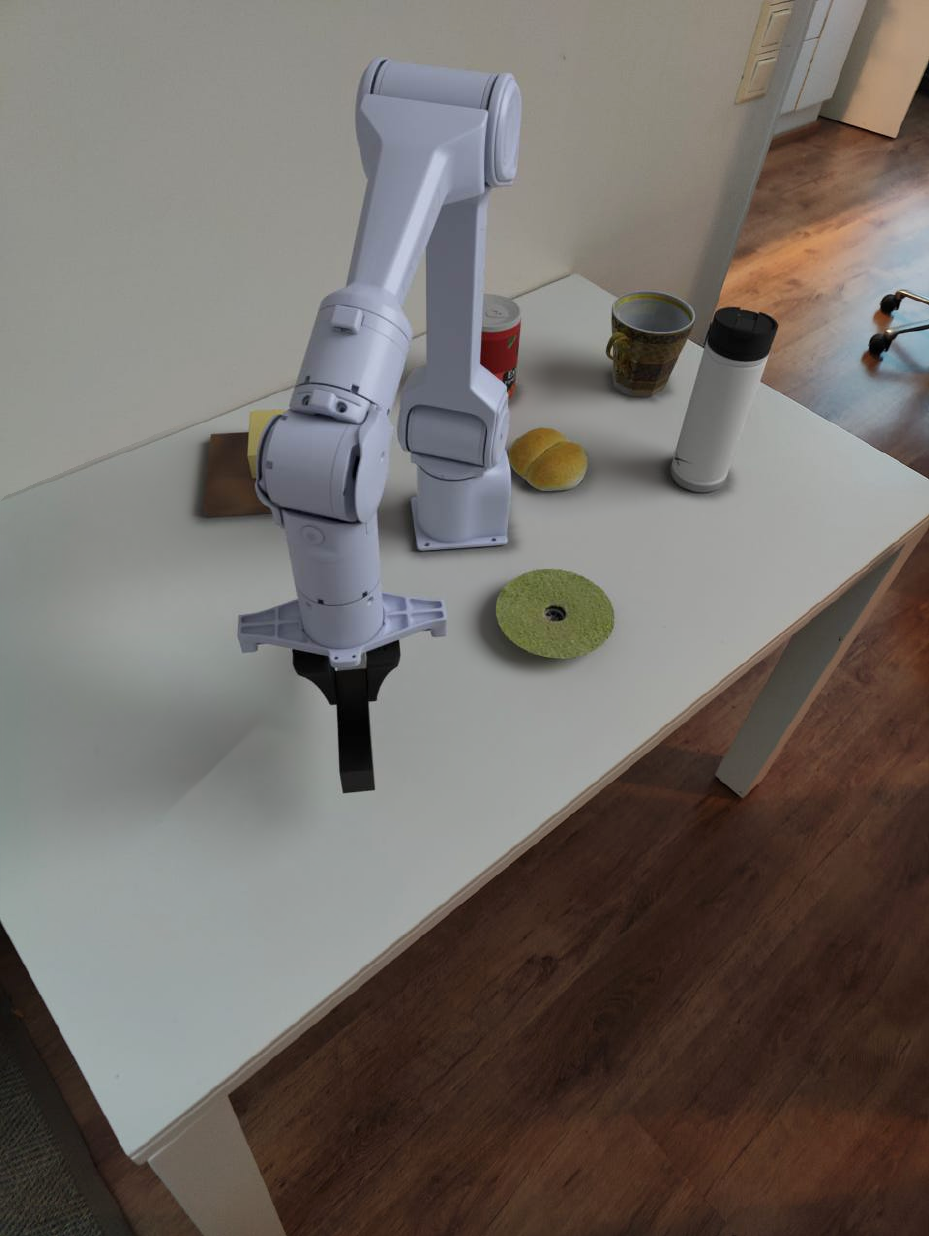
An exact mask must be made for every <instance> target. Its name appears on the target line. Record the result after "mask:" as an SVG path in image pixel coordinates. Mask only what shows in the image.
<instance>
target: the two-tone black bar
mask: <svg viewBox="0 0 929 1236" xmlns="http://www.w3.org/2000/svg"><path fill="white" fill-rule="evenodd" d="M335 681H336V705H335V706H336V723H337V724H336V726H337V729H336V730H337V752H338V753H337V754H338V773H339V780H340V785H341V790H342V791H341V792H342V794H352V793H361V792H372V791H376V779H375V767H374V754H373V753H374V752H373V751H374V750H373V739H372V724H371V709H370V702H369V700H368V688H367V674H366V652H364V653H362V654H361V662H360V664H359V665H358V666H355V667H344V668H336V671H335Z"/></svg>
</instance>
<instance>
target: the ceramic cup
mask: <svg viewBox="0 0 929 1236" xmlns="http://www.w3.org/2000/svg"><path fill="white" fill-rule="evenodd" d="M610 321H611V336H610V337H609V339H608V341H607V345H606V347H605V355H606V357H607V358H608V359H610V360H611V361H612V379H613V385H614V389H616V390H617V391H619V392H621V393H622V394H624V395H626V396H628V397H631V398H652V397H653V396H655V395H657V394H658V393H660V392H662V391H663V390H664V389H665V388H666V386H667V383H668V382H669V379H670V377H671V375H672V372H673V371H674V368H675V366H676V364H677V362H678V360H679V357H680V355H681V353H682V351H683V349H684V347H685V345H686V343H687V342H688V339H689V337H690V335H691V333H692V330H693V326H694V325H695V323H696V312H695V310H694V308H693V307H692V306H691V305H690V303H688V302H687V301H685V300H684V299H681V298H679V297H678V296H675V295H672V294H671V293H670V294H669V293H666V292H661V291H656V290H655V291H654V290H637V291H631V292H628V293H625V294H622V295H620V296H618V297H617V298H616V299H615V300H614V301H613V303H612V305H611V320H610ZM611 351H612V353H611Z"/></svg>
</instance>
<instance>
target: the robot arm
mask: <svg viewBox="0 0 929 1236" xmlns="http://www.w3.org/2000/svg"><path fill="white" fill-rule="evenodd" d="M522 101H523V99H522V95H521V89H520V87H519V84H518V83H517V81H516V80H515V77H514V75H513V74H512V73H511V72H506V71H502V72H500V73H492V72H485V71H479V70H478V71H477V70H469V69H461V68H454V67H446V66H437V65H430V64H422V63H416V62H406V61H399V60H391V59H389V58H388V57H387V56H381V55H379V56H375V57H374V58H373V59H372V60H371V61H370V62H369V63H368V65H367V67H365V69H364V71H363V72H362V74H361V77H360V80H359V84H358V87H357V92H356V99H355V111H354V112H355V114H354V116H355V117H354V119H355V120H354V123H355V134H356V140H357V144H358V148H359V154H360V160H361V165H362V169H363V172H364V175H365V177H366V179H367V182H366V186H365V191H364V197H363V200H362V205H361V210H360V215H359V221H358V225H357V230H356V235H355V240H354V243H353V249H352V254H351V258H350V264H349V269H348V274H347V278H346V283H345V286H344V287H342V288H340V289H337V290H335V291H333V292H331V293H329V294H328V295H326V296H325V297H324V298H323V299H322V300H321V302H320V304H319V307H318V310H317V314H316V316H315V320H314V324H313V327H312V330H311V332H310V336H309V339H308V342H307V346H306V349H305V352H304V356H303V359H302V362H301V365H300V369H299V371H298V375H297V378H296V381H295V385H294V388H293V391H292V394H291V398H290V401H289V404H288V407H289V408H288V409H286V411H285V412H284V413H283V414H282V415H281V414H278V415H275V416H273V417H272V418H271V419H270V420H269V422H268V423H267V424H266V426H265V428H264V430H263V432H262V435H261V437H260V441H259V444H258V449H257V455H256V482H255V490H256V493H257V496H258V498H259V499H260V501H261V502H262V503H263V504H264V505H266V506H268V507H270V509H271V511H272V513H271V515H272V519H273V520H272V521H273V524H274V525H276V526H279V527H280V529H283V530H284V533H285V539H286V544H287V549H288V554H289V560H290V566H291V570H292V571H291V572H292V577H293V581H294V586H295V591H296V597H297V598H296V599H293V600H290V601H288V602H284V603H282V604H279V605H275V606H273V607H270V608H267V609H264V610H260V611H257V612H252V613H245V614H244V613H243V614H238V619H237V640H238V643H239V647H240V651H241V653H242V654H246V653H247V654H248V653H249V654H250V653H256V652H257V651H258V650H259V646H261V645H271V646H276V647H281V648H286V649H290V650H291V653H292V667H293V669H294V670H295V673H296V674H297V676H299V677H302V678H304V679H306V680H308V681H309V682H311V683H313V684H314V685H315V686H316V687H317V688H318V689H319V691H320V692H321V693H322V695H323V696H324V697H325V699H326V700H327V702H328V705H330V706H337V705H336V681H335V671H337V668H344V667H355V666H358V665H359V664H360V662H361V654H362V653H364V652H366V674H367V688H368V700H369V703H370V702H377V701H378V695H379V692H380V689H381V687H382V685H383V683H384V681H385V680H386V678H387V676H388V675H389V674H390V673H391V672H392V671H393V670H395V669H396V668H398V666H399V664H400V661H401V656H402V655H401V642H400V640H401V639H404V638H407V637H410V636H412V635H414V634H418V633H420V632H430V635H431V637H433V638H441V637H442V638H443V637H447V631H448V629H447V628H448V627H447V626H448V625H447V624H448V618H447V612H446V604H445V599H443V598H440V599H426V598H420V597H419V598H418V597H412V596H408V595H402V594H397V593H391V592H387V591H383V587H382V572H381V555H380V542H379V527H378V526H379V525H378V524H379V523H378V512H377V511H378V508H379V506H380V504H381V501H382V498H383V495H384V491H385V489H386V485H387V480H388V475H389V468H390V467H389V466H390V456H391V454H390V453H391V446H392V441H393V439H394V436H393V434H394V430H395V429H394V425H393V424H392V423H391V420H390V417H391V414H392V411H393V407H394V403H395V400H396V397H397V393H398V390H399V387H400V383H401V380H402V375H403V373H404V370H405V369H404V368H405V365H406V362H407V358H408V354H409V351H410V347H411V344H412V341H413V337H414V336H413V334H414V333H413V328H412V325H411V323H410V321H409V319H408V318H407V317H408V316H406V314H405V312H404V311H403V309H402V308H403V307H404V303H405V301H406V298H407V296H408V294H409V291H410V289H411V286H412V285H413V284H412V283H413V281H414V278H415V276H416V273H417V271H418V268H419V265H420V263H421V260H422V257H423V255H424V253H425V321H426V322H425V337H426V339H425V342H426V343H425V347H426V351H425V353H426V363H425V364H423V365H421V366H417V367H416V368H415V369H414V370H412V372H411V373H410V374H409V375H408V377H407V379H406V381H405V382H404V384H403V386H402V389H401V390H400V391H401V392H400V396H399V397H400V400H399V401H400V402H399V411H398V417H397V423H396V437H397V441H398V444H399V445H400V448H401V450H402V451H403V452H405V453H410V463H412V464H414V465H416V483H417V484H416V494H417V495H416V496H413V497H411V498H410V505H411V511H412V512H411V513H412V520H413V527H414V534H415V535H414V536H415V542H416V548H417V550H418V551H421V552H422V551H436V550H451V549H452V550H453V549H465V548H477V547H478V548H479V547H492V546H493V547H494V546H504V545H507V544H508V541H509V538H508V529H509V528H508V526H509V517H510V506H511V498H512V497H511V496H512V495H511V494H512V476H511V475H512V474H511V464H510V462H509V454H508V452H507V450H506V444H507V441H508V440H507V439H508V434H509V429H510V418H511V417H510V409H509V400H508V393H507V386H506V385H505V384H504V383H503V382H502V381H500V380H499V379H498V378H497V377H495V376H494V375H493V374H492V373H491V372H489V371H488V370H487V369H486V368H484V367H483V366H482V365H481V364H480V350H481V330H482V309H483V294H484V288H485V287H484V286H485V269H486V268H485V267H486V265H485V264H486V250H487V249H486V246H487V223H488V207H489V200H490V196H491V194H492V191H493V189H495V188H504V187H511V186H513V185H514V180H515V178H516V175H517V171H518V163H519V149H520V137H521V136H520V135H521V122H522V110H523V109H522V108H523V107H522V106H523V105H522V104H523V102H522Z"/></svg>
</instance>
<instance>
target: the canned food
mask: <svg viewBox="0 0 929 1236" xmlns="http://www.w3.org/2000/svg"><path fill="white" fill-rule="evenodd" d="M521 328H522V309H521V307H520V305H519V304H518V303H517V302H515V301H514V300H513V299H511V298H509V297H505V296H502V295H499V294H492V293H483V309H482V330H481V350H480V364H481V365H482V366H483V367H484V368H486V369H487V370H488V371H489V372H491V373H492V374H493V375H494V376H495V377H497V378H498V379H499V380H500V381H502V382H503V383H504V384H505V385H506V386H507V393H508V401H509V400H510V399H511V397H512V396H513V394H514V391H515V388H516V379H517V369H518V359H519V351H520V350H519V349H520V340H521V339H520V338H521Z"/></svg>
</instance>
